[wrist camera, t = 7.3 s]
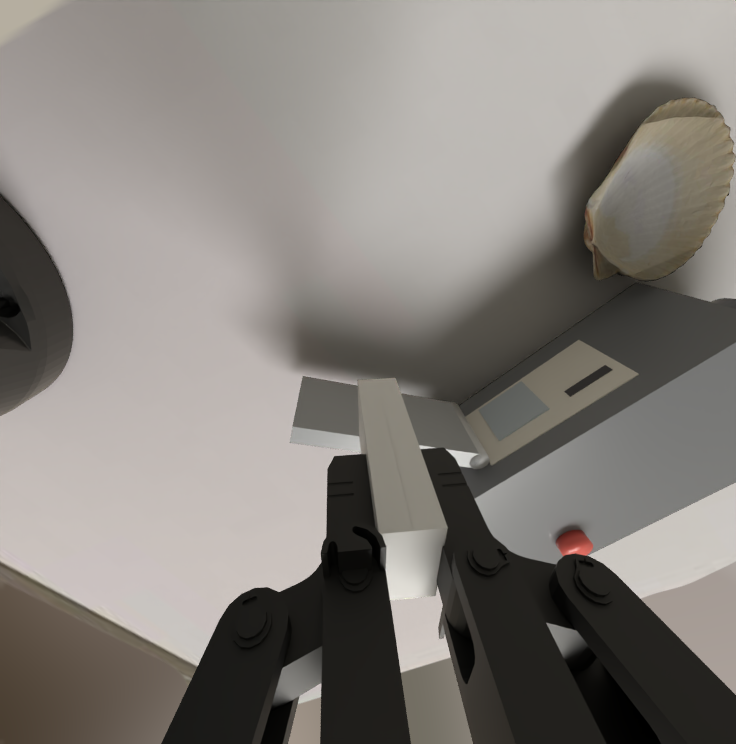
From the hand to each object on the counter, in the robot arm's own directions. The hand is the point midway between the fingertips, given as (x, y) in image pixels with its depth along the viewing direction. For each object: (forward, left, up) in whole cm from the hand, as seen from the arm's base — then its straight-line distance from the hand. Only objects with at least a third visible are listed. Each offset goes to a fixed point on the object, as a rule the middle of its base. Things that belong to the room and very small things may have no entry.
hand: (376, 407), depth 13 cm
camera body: (+13, +8, -8) cm, 17 cm away
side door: (+4, -2, -7) cm, 8 cm away
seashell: (+4, +16, -8) cm, 18 cm away
